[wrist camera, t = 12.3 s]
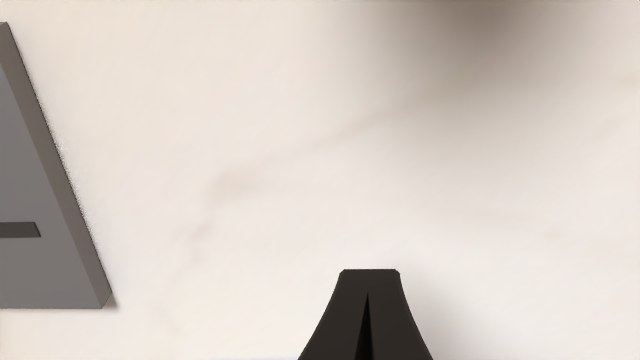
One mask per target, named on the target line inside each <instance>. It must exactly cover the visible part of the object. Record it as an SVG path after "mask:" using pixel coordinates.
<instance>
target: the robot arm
mask: <svg viewBox="0 0 640 360" xmlns="http://www.w3.org/2000/svg"><path fill="white" fill-rule="evenodd" d="M298 360H433V358H432V356H431V355H430V353H429V351H428V349H427V347H426V345H425V343H424V341H423V339H422V337H421V334H420V332H419V330H418V328H417V326H416V323H415V321H414V319H413V316H412V314H411V312H410V309H409V306H408V303H407V301H406V298H405V295H404V292H403V288H402V284H401V279H400V273H399V272H398V271H397V270H395V269H344V270H343V271H342V272H341V273H340V275H339V278H338V281H337V284H336V287H335V289H334V292H333V294H332V297H331V299H330V301H329V303H328V306H327V308H326V310H325V312H324V314H323V316H322V318H321V320H320V322H319V324H318V325H317V327H316V329H315V331H314V333H313V335H312V337H311V338H310V340H309V342H308V343H307V345H306V347H305V348H304V350H303V352H302V353H301V355H300V357H299V358H298Z"/></svg>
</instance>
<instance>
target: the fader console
mask: <svg viewBox="0 0 640 360" xmlns="http://www.w3.org/2000/svg"><path fill="white" fill-rule="evenodd" d="M110 294H111V289H110V287H109V284H108V281H107V279H106V276H105V274H104V271H103V269H102V266H101V263H100V261H99V258H98V256H97V253H96V251H95V248H94V245H93V243H92V240H91V238H90V235H89V233H88V230H87V227H86V225H85V222H84V220H83V217H82V215H81V212H80V209H79V207H78V204H77V202H76V199H75V197H74V194H73V191H72V189H71V186H70V184H69V181H68V179H67V176H66V173H65V171H64V168H63V166H62V163H61V161H60V158H59V155H58V153H57V150H56V148H55V145H54V143H53V140H52V137H51V135H50V132H49V130H48V127H47V125H46V122H45V119H44V117H43V114H42V112H41V109H40V106H39V104H38V101H37V99H36V96H35V94H34V91H33V88H32V86H31V83H30V81H29V78H28V76H27V73H26V70H25V68H24V65H23V63H22V60H21V58H20V55H19V52H18V50H17V47H16V45H15V42H14V40H13V37H12V34H11V32H10V29H9V27H8V24H7V22H0V308H25V309H102V307H103V306H104V304H105V302H106V301H107V299H108V297H109V296H110Z"/></svg>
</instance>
